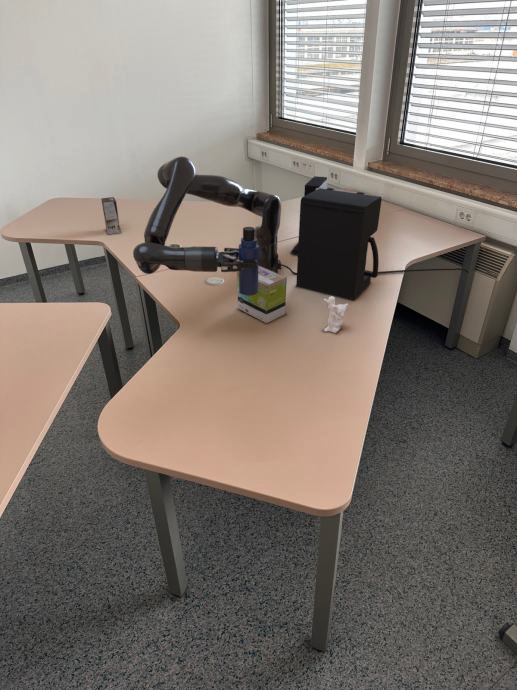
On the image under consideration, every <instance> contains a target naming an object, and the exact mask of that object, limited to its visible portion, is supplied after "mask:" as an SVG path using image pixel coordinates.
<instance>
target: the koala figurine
mask: <svg viewBox="0 0 517 690" xmlns="http://www.w3.org/2000/svg"><path fill="white" fill-rule="evenodd" d="M323 301H324V302H325V303H326V304H327V309H328V310H329V313H328V320H327V326H326V327H325V328H324V329H323V331H324V332H331V333H334V334H337V333H338V332H339V331H340V330H341V326H343V325H345V322H346V313H347V310H348V309H349V308H350V303H344V304H342V303H340V304H337V305H336V298H335V296H333V295H330V296H329V297H328V299H327V298H323Z"/></svg>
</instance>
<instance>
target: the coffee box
mask: <svg viewBox="0 0 517 690" xmlns="http://www.w3.org/2000/svg"><path fill="white" fill-rule="evenodd" d="M100 200H101V205H102V212H103V218H104V223H105V229H106V232H107V235H115V234H121V226H120V225H121V224H120V218H119V212H118V205H117V200H116V199H115V197H114V196H111V197H102V198H101V199H100Z"/></svg>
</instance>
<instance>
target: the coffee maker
mask: <svg viewBox="0 0 517 690" xmlns="http://www.w3.org/2000/svg"><path fill="white" fill-rule="evenodd" d="M382 199H383V198H382V196H381V195H380V196H379V195H373V194H367V193H365V192H363V191H362V192H361V191H357V192H353V191H352V192H351V191H345V190H337V189H335V188H332V187H327V189H324V188H319V189H317V190H315V191H313V192H311V193H309V194H307V195H305V196H304V195H303V196H302V197H301V198H300V205H299V225H298V242H297V243H298V255H297V261H296V262H297V263H296V273H297V275H296V281H295V282H296V283H295V284H296V285H295V287H297V288H300V289H304V290H307V291H308V290H309V291H313V292H317V293H320V294H321V293H322V294H325V295H329V296H333V297H337V298H340V299H341V298H342V299H344V300H345V299H346V300H349V301H355V300H356V299H357V297H358V296H359V295H361V293H362V292H363V291H364V290H365V289H366V288H367V287H368V286H369V285H370V284H371V280H372V278H373V279H376V278H377V277H378V272H379V264H380V263H379V261H380V260H379V250H378V245H377V243H376V239H375V237H374V236H373V235H374V234H375V233H377V231H378V228H379V222H380V214H381V207H382V201H383V200H382ZM369 244H370V247H371V250H372V251H371V252H372V270H368V269H366V265H367V256H368V248H369Z"/></svg>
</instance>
